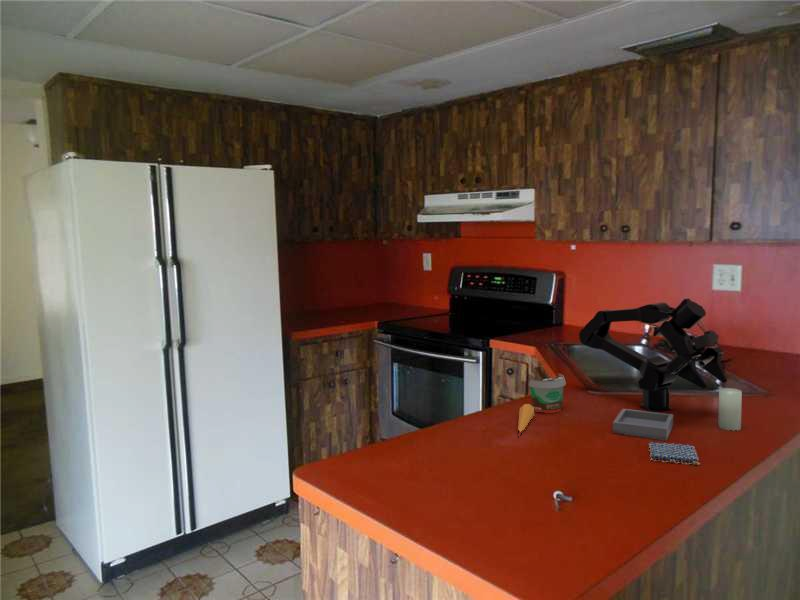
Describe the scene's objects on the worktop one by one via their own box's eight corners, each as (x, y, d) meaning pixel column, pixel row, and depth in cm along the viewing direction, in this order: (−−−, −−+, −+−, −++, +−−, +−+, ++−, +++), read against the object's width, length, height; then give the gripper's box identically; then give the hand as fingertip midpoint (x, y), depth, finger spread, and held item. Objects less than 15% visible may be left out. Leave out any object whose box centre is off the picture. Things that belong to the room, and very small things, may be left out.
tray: (612, 433, 155) (612, 422, 154) (622, 418, 166) (622, 408, 165) (666, 440, 148) (666, 429, 148) (673, 425, 159) (673, 414, 159)
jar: (727, 431, 153) (728, 394, 152) (713, 425, 158) (714, 388, 157) (745, 429, 154) (746, 392, 152) (731, 423, 159) (732, 387, 157)
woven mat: (694, 451, 142) (694, 443, 142) (700, 468, 132) (700, 459, 132) (647, 447, 146) (647, 439, 145) (649, 463, 136) (650, 455, 135)
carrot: (524, 418, 173) (517, 404, 173) (538, 413, 171) (532, 399, 171) (513, 448, 155) (506, 433, 154) (529, 444, 153) (522, 428, 152)
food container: (542, 417, 170) (542, 383, 169) (529, 412, 175) (528, 379, 174) (575, 410, 175) (574, 377, 174) (560, 405, 181) (560, 373, 180)
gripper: (677, 325, 156) (717, 373, 147) (717, 317, 165) (757, 362, 157) (650, 350, 163) (687, 397, 155) (690, 341, 173) (727, 385, 165)
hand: (716, 385), depth 158 cm, fingers open, 9 cm apart
